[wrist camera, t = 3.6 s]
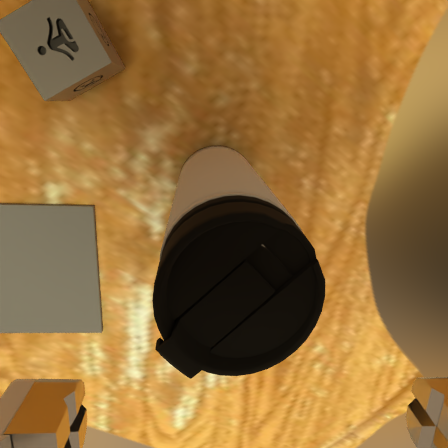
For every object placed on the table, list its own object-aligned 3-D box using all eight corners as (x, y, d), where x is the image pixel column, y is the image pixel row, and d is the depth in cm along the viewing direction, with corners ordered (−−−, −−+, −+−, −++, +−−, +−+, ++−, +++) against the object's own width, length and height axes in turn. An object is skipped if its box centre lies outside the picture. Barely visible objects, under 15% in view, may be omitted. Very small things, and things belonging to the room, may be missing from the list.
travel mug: (160, 183, 31) (101, 312, 12) (219, 128, 30) (254, 177, 11) (211, 235, 33) (228, 418, 14) (269, 185, 32) (371, 309, 13)
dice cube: (126, 68, 29) (111, 62, 24) (69, 100, 29) (44, 100, 24) (88, 1, 27) (65, -20, 22) (29, 36, 28) (-6, 23, 23)
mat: (-58, 202, 31) (-61, 203, 30) (94, 205, 32) (92, 206, 31) (-33, 330, 34) (-35, 333, 34) (102, 330, 35) (101, 332, 35)
